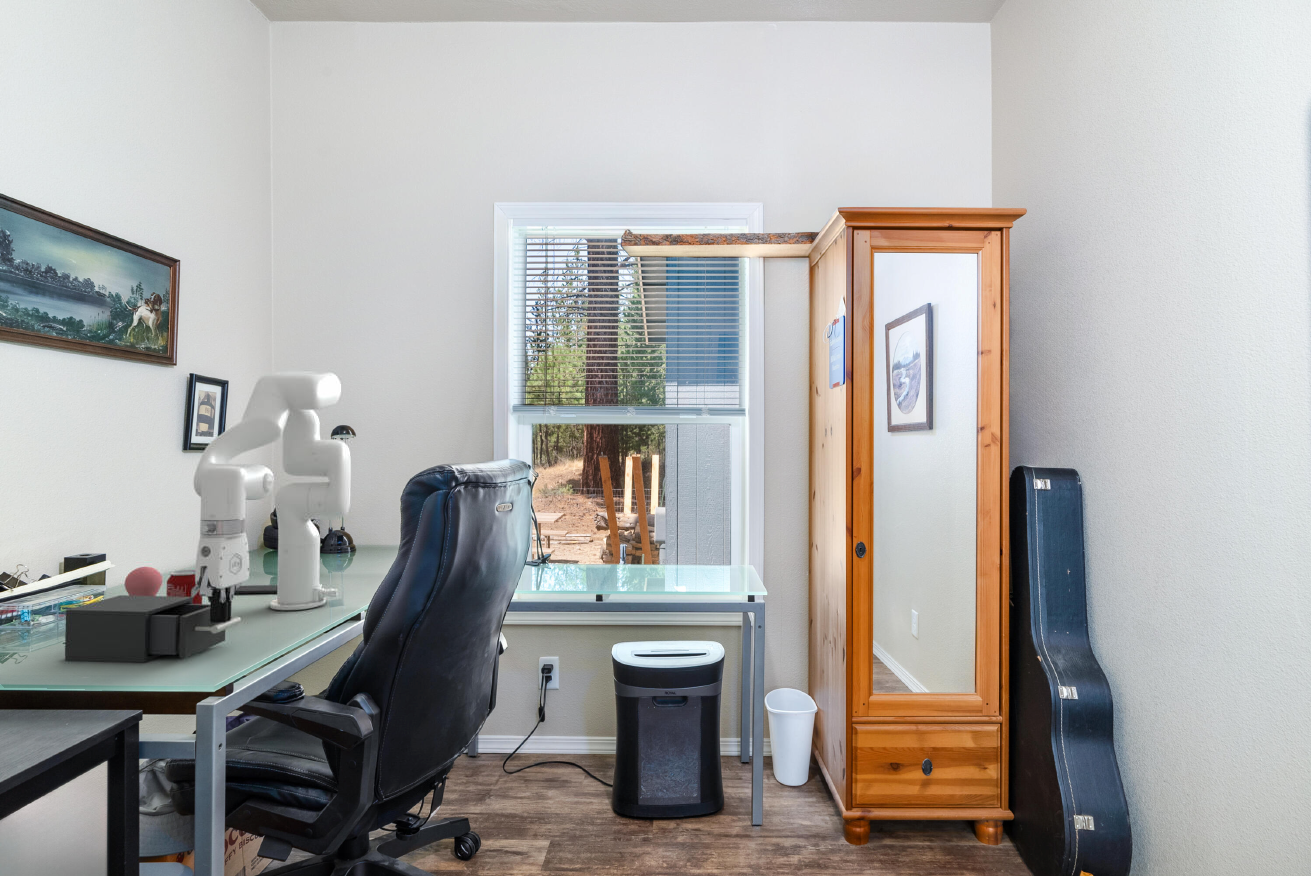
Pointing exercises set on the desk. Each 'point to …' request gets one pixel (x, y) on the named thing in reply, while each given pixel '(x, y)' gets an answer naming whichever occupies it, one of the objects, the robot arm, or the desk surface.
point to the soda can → (183, 585)
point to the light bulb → (143, 582)
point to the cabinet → (114, 628)
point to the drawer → (185, 630)
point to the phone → (257, 589)
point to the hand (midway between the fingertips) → (220, 621)
